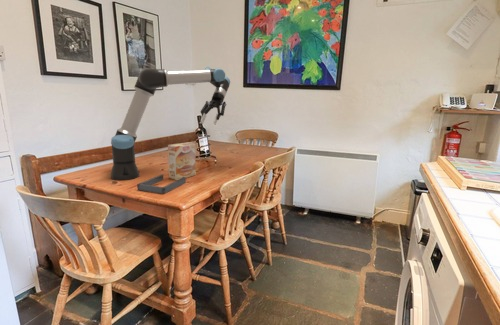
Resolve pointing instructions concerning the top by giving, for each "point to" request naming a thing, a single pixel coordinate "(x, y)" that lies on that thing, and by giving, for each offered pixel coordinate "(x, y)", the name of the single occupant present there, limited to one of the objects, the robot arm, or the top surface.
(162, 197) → the top surface
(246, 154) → the top surface
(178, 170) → the coffeecake box
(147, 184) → the dock
